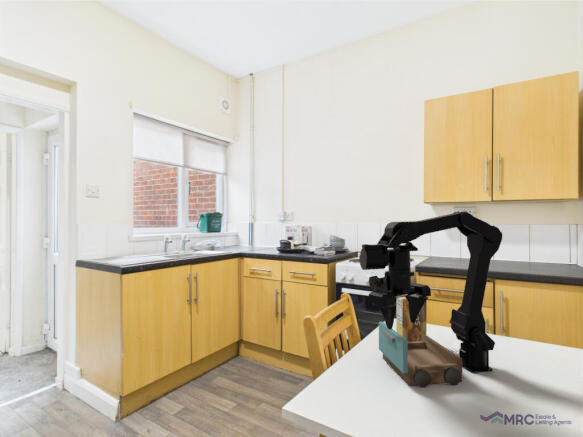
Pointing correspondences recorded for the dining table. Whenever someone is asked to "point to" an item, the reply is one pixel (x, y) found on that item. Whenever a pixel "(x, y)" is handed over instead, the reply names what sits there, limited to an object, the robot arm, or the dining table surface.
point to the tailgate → (393, 347)
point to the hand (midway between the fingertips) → (401, 325)
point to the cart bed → (430, 364)
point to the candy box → (405, 325)
